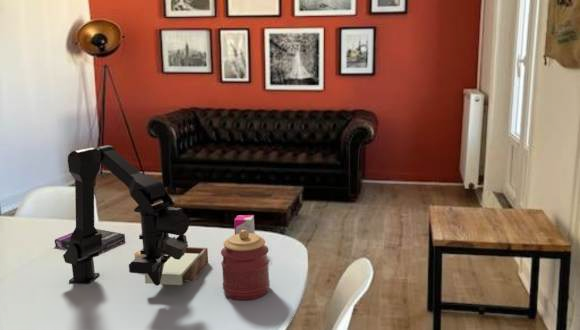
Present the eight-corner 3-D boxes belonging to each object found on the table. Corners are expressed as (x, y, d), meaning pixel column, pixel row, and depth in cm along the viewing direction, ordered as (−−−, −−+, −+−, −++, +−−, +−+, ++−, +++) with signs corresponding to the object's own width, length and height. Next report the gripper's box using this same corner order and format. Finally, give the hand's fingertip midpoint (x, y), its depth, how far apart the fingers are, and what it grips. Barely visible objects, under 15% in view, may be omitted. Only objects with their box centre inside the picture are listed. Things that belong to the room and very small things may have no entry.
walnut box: (193, 281, 159) (191, 265, 158) (160, 279, 160) (159, 263, 159) (208, 262, 172) (207, 247, 171) (178, 261, 174) (176, 246, 173)
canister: (245, 277, 161) (243, 219, 157) (279, 288, 153) (277, 228, 149) (213, 292, 151) (209, 231, 147) (247, 305, 143) (244, 241, 139)
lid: (181, 285, 149) (180, 274, 148) (145, 283, 151) (144, 273, 150) (200, 263, 164) (199, 253, 163) (167, 261, 166) (166, 252, 165)
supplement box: (255, 247, 185) (254, 214, 182) (252, 253, 179) (251, 220, 176) (238, 246, 185) (237, 214, 183) (235, 253, 179) (233, 220, 177)
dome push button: (154, 268, 168) (153, 255, 168) (133, 269, 168) (132, 256, 168) (158, 261, 175) (157, 248, 174) (138, 262, 175) (137, 249, 174)
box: (55, 248, 191) (96, 256, 182) (53, 239, 190) (94, 246, 181) (86, 235, 203) (126, 242, 194) (85, 226, 202) (125, 232, 193)
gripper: (168, 243, 133) (172, 302, 136) (194, 219, 150) (198, 272, 154) (125, 241, 135) (130, 300, 138) (156, 217, 152) (160, 270, 156)
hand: (157, 284), depth 146 cm, fingers closed
